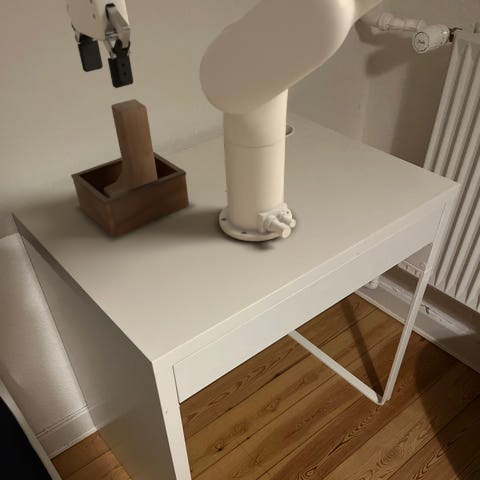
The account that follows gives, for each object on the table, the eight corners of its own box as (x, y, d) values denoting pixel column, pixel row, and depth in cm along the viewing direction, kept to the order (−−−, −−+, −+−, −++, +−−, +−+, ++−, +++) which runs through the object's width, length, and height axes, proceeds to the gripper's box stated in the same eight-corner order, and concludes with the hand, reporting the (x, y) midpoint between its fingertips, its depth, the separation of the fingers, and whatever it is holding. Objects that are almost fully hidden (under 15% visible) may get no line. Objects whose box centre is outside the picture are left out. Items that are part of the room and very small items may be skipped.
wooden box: (189, 206, 93) (186, 171, 88) (113, 238, 86) (104, 202, 81) (153, 181, 100) (148, 148, 96) (80, 208, 93) (70, 174, 89)
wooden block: (117, 220, 90) (94, 119, 78) (107, 209, 93) (83, 110, 80) (162, 204, 93) (147, 105, 81) (151, 195, 96) (135, 97, 84)
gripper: (139, -59, 62) (158, 86, 74) (78, -70, 72) (103, 59, 84) (84, -52, 59) (113, 98, 71) (28, -64, 69) (61, 69, 81)
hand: (107, 77), depth 78 cm, fingers open, 9 cm apart
